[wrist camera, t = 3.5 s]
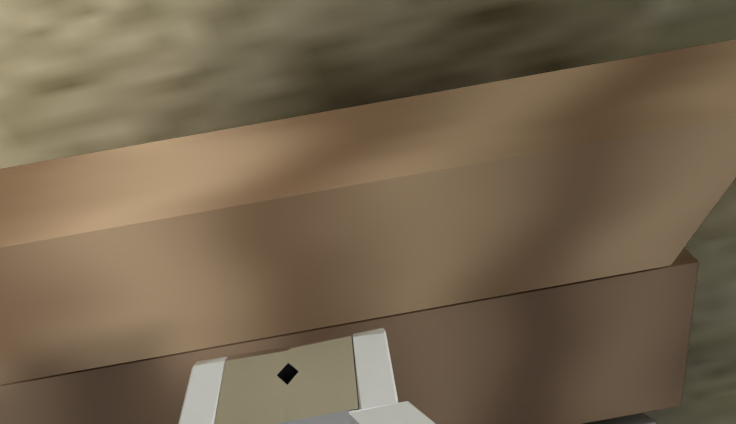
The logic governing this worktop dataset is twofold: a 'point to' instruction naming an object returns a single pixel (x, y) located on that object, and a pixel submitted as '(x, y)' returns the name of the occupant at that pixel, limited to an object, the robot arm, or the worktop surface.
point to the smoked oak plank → (362, 211)
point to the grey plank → (627, 420)
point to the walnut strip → (448, 359)
